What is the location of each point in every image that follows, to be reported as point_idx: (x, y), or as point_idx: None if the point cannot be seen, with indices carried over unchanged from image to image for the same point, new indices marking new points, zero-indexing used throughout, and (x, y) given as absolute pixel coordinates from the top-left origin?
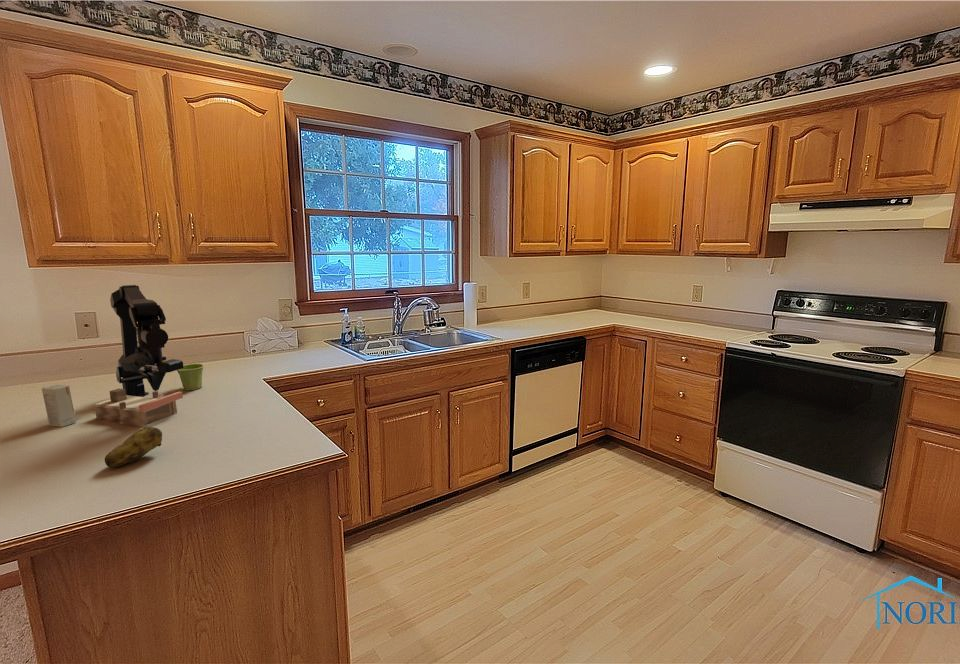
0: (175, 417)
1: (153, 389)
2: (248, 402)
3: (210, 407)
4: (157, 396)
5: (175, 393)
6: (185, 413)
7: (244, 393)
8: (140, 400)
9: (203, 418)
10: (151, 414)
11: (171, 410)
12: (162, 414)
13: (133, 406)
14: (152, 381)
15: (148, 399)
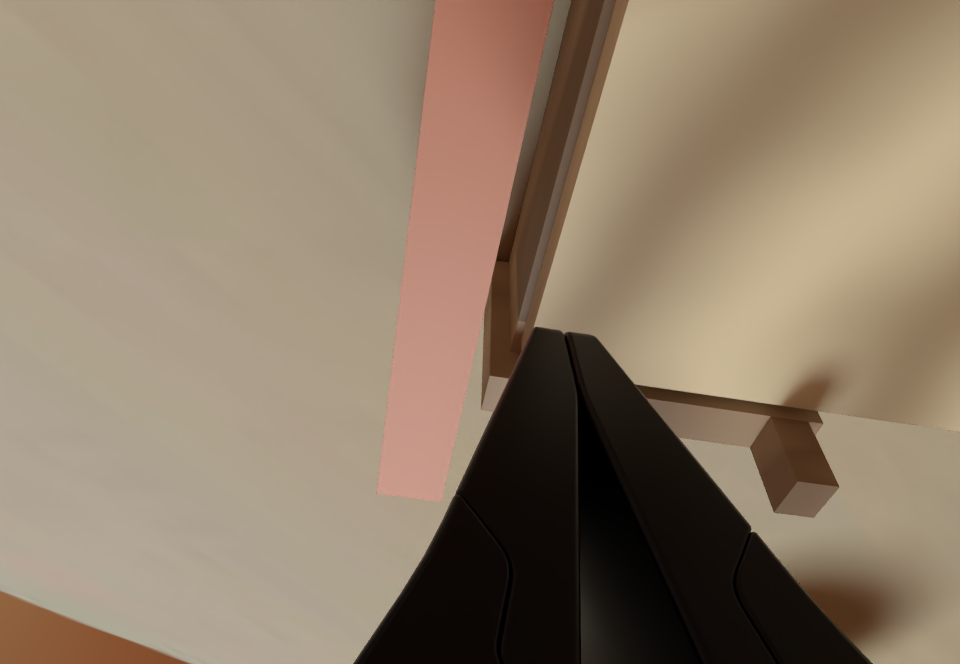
0: (404, 180)
1: (588, 346)
2: (77, 516)
3: (283, 424)
4: (759, 446)
5: (419, 447)
6: (390, 289)
7: (284, 626)
8: (940, 332)
9: (58, 179)
10: (581, 28)
11: (511, 280)
12: (538, 169)
13: (943, 79)
14: (561, 511)
15: (838, 370)
